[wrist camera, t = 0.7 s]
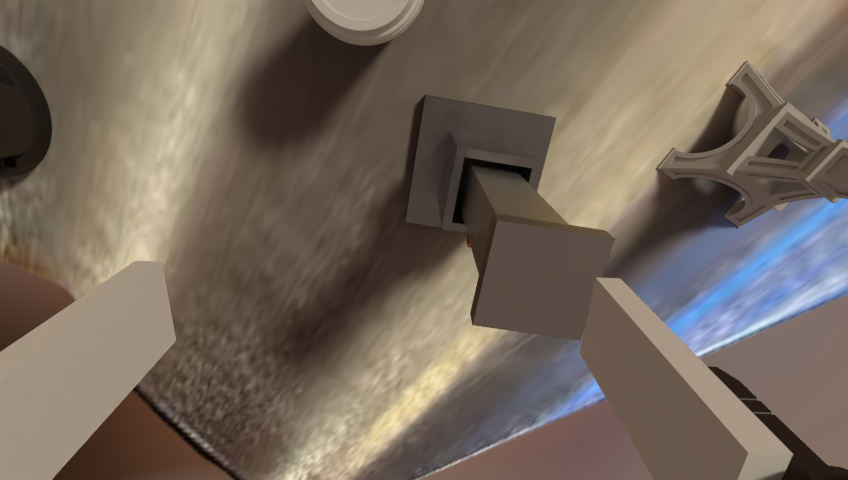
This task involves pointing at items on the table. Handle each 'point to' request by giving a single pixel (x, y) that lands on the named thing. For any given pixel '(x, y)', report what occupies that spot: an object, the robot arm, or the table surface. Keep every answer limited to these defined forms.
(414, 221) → the stand base
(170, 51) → the table surface
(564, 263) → the column
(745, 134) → the eiffel tower
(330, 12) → the coffee cup
